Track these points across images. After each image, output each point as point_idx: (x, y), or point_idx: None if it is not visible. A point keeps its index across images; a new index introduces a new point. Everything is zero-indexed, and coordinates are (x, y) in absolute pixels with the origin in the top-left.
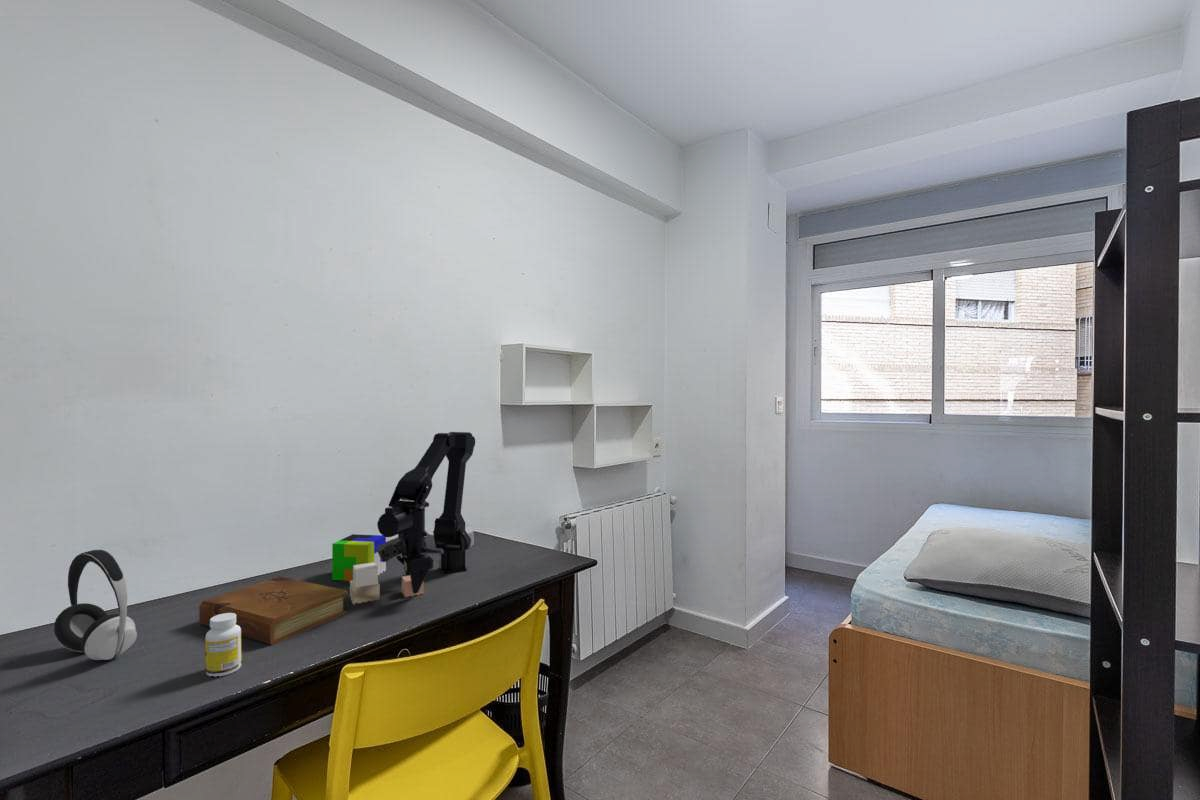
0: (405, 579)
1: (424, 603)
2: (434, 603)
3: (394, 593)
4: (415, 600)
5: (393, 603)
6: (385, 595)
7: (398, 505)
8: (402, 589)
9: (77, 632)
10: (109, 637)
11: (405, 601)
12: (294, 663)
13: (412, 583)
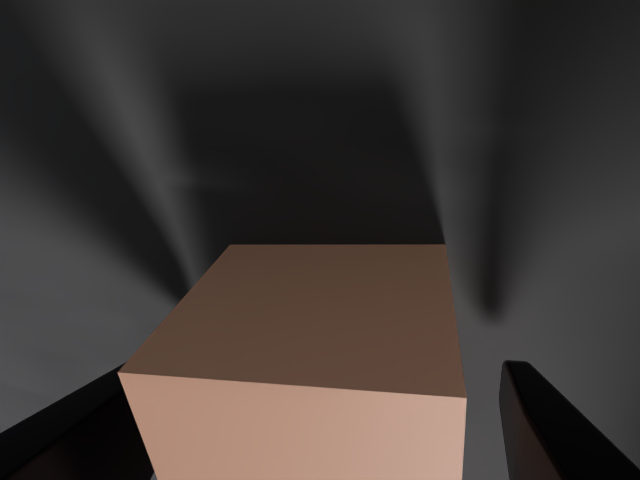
0: (246, 403)
1: (40, 351)
2: (35, 404)
3: (429, 148)
4: (120, 309)
5: (69, 94)
6: (405, 6)
7: None
8: (404, 265)
9: None
10: None
11: (109, 225)
12: None
13: (22, 428)
